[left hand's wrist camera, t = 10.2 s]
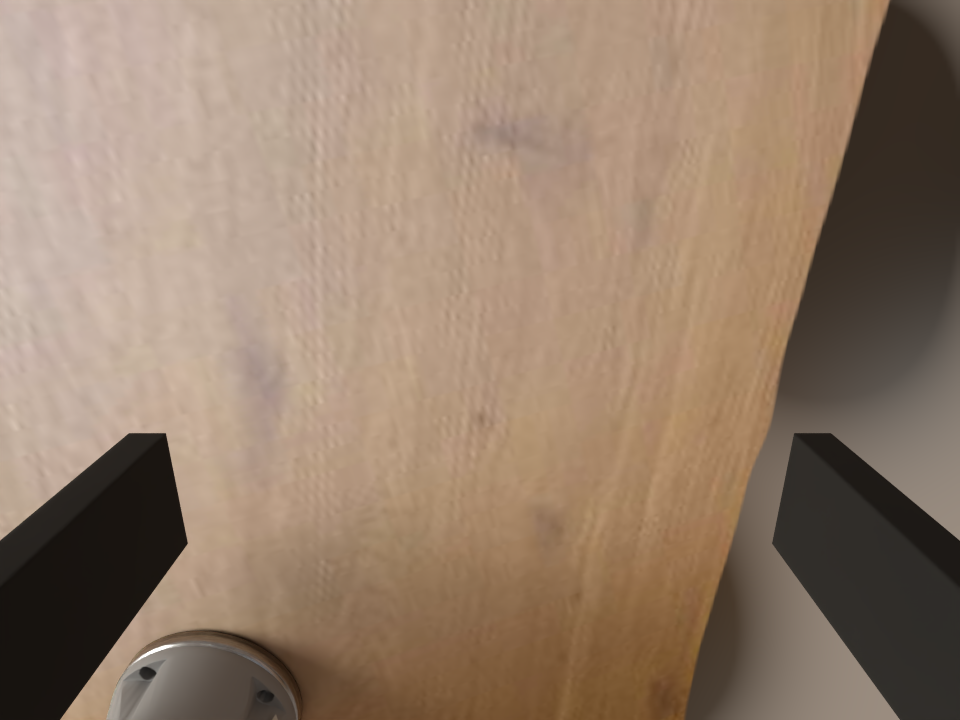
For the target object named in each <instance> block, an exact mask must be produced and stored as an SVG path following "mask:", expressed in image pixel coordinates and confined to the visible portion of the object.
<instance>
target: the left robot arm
mask: <svg viewBox="0 0 960 720" xmlns="http://www.w3.org/2000/svg"><path fill="white" fill-rule="evenodd" d="M187 544H188V542H187V537H186V532H185V527H184V522H183V517H182V512H181V507H180V502H179V497H178V492H177V487H176V482H175V477H174V472H173V467H172V462H171V457H170V452H169V447H168V442H167V437H166V433H129V434H128V435H127V436H125V437H124V438H123V439H122V440H121V441H119V442H118V443H117V444H116V445H115V446H113V447H112V448H111V449H110V450H109V451H107V452H106V453H105V454H104V455H103V456H101V457H100V458H99V459H98V460H97V461H95V462H94V463H93V464H92V465H91V466H89V467H88V468H87V469H86V470H85V471H83V472H82V473H81V474H80V475H79V476H77V477H76V478H75V479H74V480H73V481H71V482H70V483H69V484H68V485H67V486H65V487H64V488H63V489H62V490H61V491H59V492H58V493H57V494H56V495H55V496H53V497H52V498H51V499H50V500H49V501H47V502H46V503H45V504H44V505H43V506H41V507H40V508H39V509H38V510H37V511H35V512H34V513H33V514H32V515H31V516H29V517H28V518H27V519H26V520H25V521H23V522H22V523H21V524H20V525H19V526H17V527H16V528H15V529H14V530H13V531H11V532H10V533H9V534H8V535H7V536H5V537H4V538H3V539H2V540H1V541H0V720H60V719H61V718H62V716H63V715H64V713H65V712H66V711H67V709H68V708H69V707H70V705H71V704H72V702H73V701H74V700H75V698H76V697H77V696H78V694H79V693H80V691H81V690H82V689H83V687H84V686H85V684H86V683H87V682H88V680H89V679H90V678H91V676H92V675H93V673H94V672H95V671H96V669H97V668H98V667H99V665H100V664H101V662H102V661H103V660H104V658H105V657H106V656H107V654H108V653H109V651H110V650H111V649H112V647H113V646H114V645H115V643H116V642H117V640H118V639H119V638H120V636H121V635H122V633H123V632H124V631H125V629H126V628H127V627H128V625H129V624H130V622H131V621H132V620H133V618H134V617H135V616H136V614H137V613H138V611H139V610H140V609H141V607H142V606H143V605H144V603H145V602H146V600H147V599H148V598H149V596H150V595H151V594H152V592H153V591H154V589H155V588H156V587H157V585H158V584H159V583H160V581H161V580H162V578H163V577H164V576H165V574H166V573H167V571H168V570H169V569H170V567H171V566H172V565H173V563H174V562H175V560H176V559H177V558H178V556H179V555H180V554H181V552H182V551H183V549H184V548H185V547H186V545H187ZM772 544H773V545H774V547H775V548H776V549H777V551H778V552H779V554H780V555H781V556H782V558H783V559H784V560H785V562H786V563H787V565H788V566H789V567H790V569H791V570H792V571H793V573H794V574H795V576H796V577H797V578H798V580H799V581H800V582H801V584H802V585H803V587H804V588H805V589H806V591H807V592H808V593H809V595H810V596H811V598H812V599H813V600H814V602H815V603H816V605H817V606H818V607H819V609H820V610H821V611H822V613H823V614H824V616H825V617H826V618H827V620H828V621H829V622H830V624H831V625H832V627H833V628H834V629H835V631H836V632H837V633H838V635H839V636H840V638H841V639H842V640H843V642H844V643H845V645H846V646H847V647H848V649H849V650H850V651H851V653H852V654H853V655H854V657H855V658H856V660H857V661H858V662H859V664H860V665H861V667H862V668H863V669H864V671H865V672H866V673H867V675H868V676H869V678H870V679H871V680H872V682H873V683H874V684H875V686H876V687H877V689H878V690H879V691H880V693H881V694H882V695H883V697H884V698H885V700H886V701H887V702H888V704H889V705H890V707H891V708H892V709H893V711H894V712H895V713H896V715H897V716H898V718H899V719H900V720H960V541H959V540H958V539H957V538H956V537H955V536H953V535H952V534H951V533H950V532H949V531H947V530H946V529H945V528H944V527H943V526H941V525H940V524H939V523H938V522H937V521H935V520H934V519H933V518H932V517H931V516H929V515H928V514H927V513H926V512H925V511H923V510H922V509H921V508H920V507H919V506H917V505H916V504H915V503H914V502H913V501H911V500H910V499H909V498H908V497H907V496H905V495H904V494H903V493H902V492H901V491H899V490H898V489H897V488H896V487H895V486H893V485H892V484H891V483H890V482H889V481H887V480H886V479H885V478H884V477H883V476H881V475H880V474H879V473H878V472H877V471H875V470H874V469H873V468H872V467H871V466H869V465H868V464H867V463H866V462H865V461H863V460H862V459H861V458H860V457H859V456H857V455H856V454H855V453H854V452H853V451H851V450H850V449H849V448H848V447H847V446H845V445H844V444H843V443H842V442H841V441H839V440H838V439H837V438H836V437H835V436H833V435H832V434H831V433H795V434H794V437H793V442H792V447H791V452H790V457H789V462H788V467H787V472H786V477H785V482H784V487H783V492H782V497H781V502H780V507H779V512H778V517H777V522H776V527H775V532H774V537H773V542H772ZM301 714H302V700H301V695H300V691H299V688H298V686H297V684H296V682H295V680H294V678H293V676H292V675H291V673H290V672H289V671H288V670H287V668H286V667H285V666H284V665H283V664H282V663H281V662H280V661H279V660H278V659H277V658H275V657H274V656H273V655H272V654H270V653H269V652H267V651H266V650H264V649H263V648H261V647H259V646H258V645H256V644H254V643H252V642H249V641H247V640H244V639H242V638H239V637H236V636H232V635H228V634H224V633H218V632H210V631H189V632H181V633H176V634H172V635H168V636H165V637H162V638H160V639H158V640H156V641H154V642H152V643H150V644H149V645H147V646H146V647H144V648H143V649H142V650H141V651H140V652H139V653H138V654H137V655H136V656H135V657H134V658H133V660H132V661H131V662H130V664H129V665H128V667H127V668H126V670H125V671H124V673H123V674H122V676H121V678H120V679H119V681H118V683H117V686H116V689H115V691H114V693H113V696H112V700H111V704H110V707H109V711H108V715H107V719H106V720H300V719H301Z"/></svg>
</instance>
